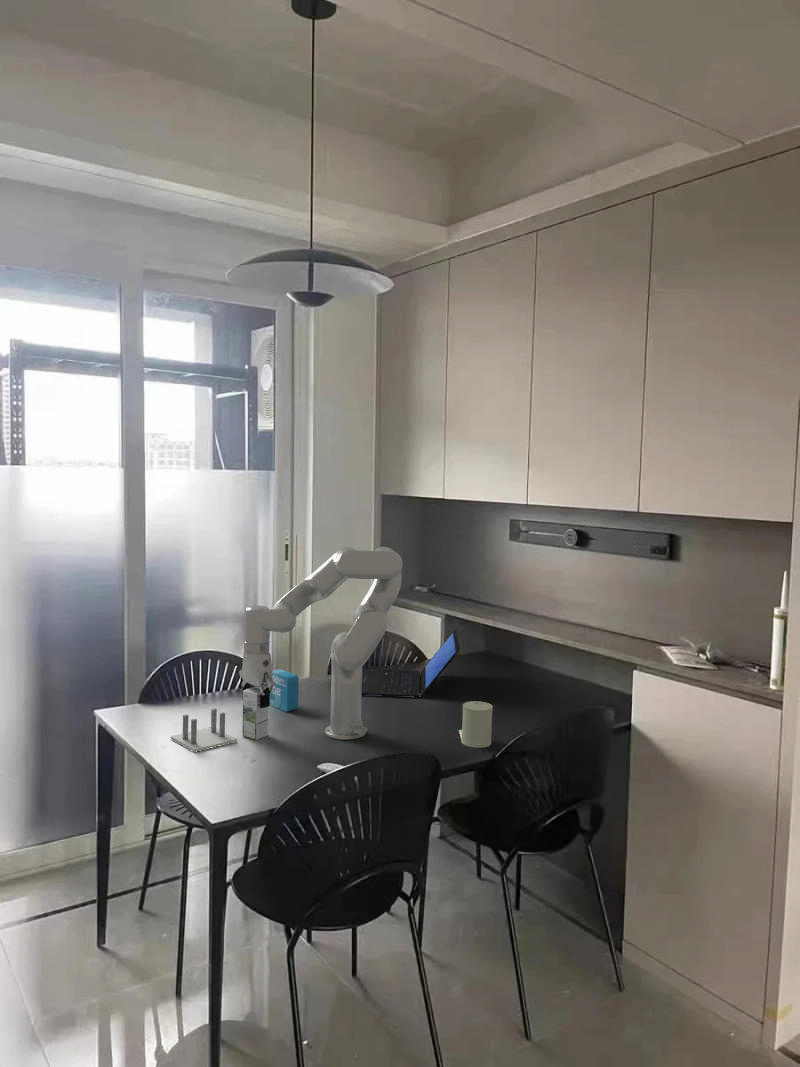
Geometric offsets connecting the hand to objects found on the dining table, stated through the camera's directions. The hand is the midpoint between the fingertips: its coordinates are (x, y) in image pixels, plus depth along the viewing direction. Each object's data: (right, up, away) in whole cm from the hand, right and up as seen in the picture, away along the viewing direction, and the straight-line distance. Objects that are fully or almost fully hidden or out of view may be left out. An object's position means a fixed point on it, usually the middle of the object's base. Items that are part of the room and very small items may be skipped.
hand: (255, 703), depth 238 cm
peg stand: (-15, -10, -5) cm, 18 cm away
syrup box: (0, -10, +1) cm, 10 cm away
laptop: (+46, -7, +61) cm, 77 cm away
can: (+67, -13, +2) cm, 68 cm away
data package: (+4, -8, +30) cm, 31 cm away
